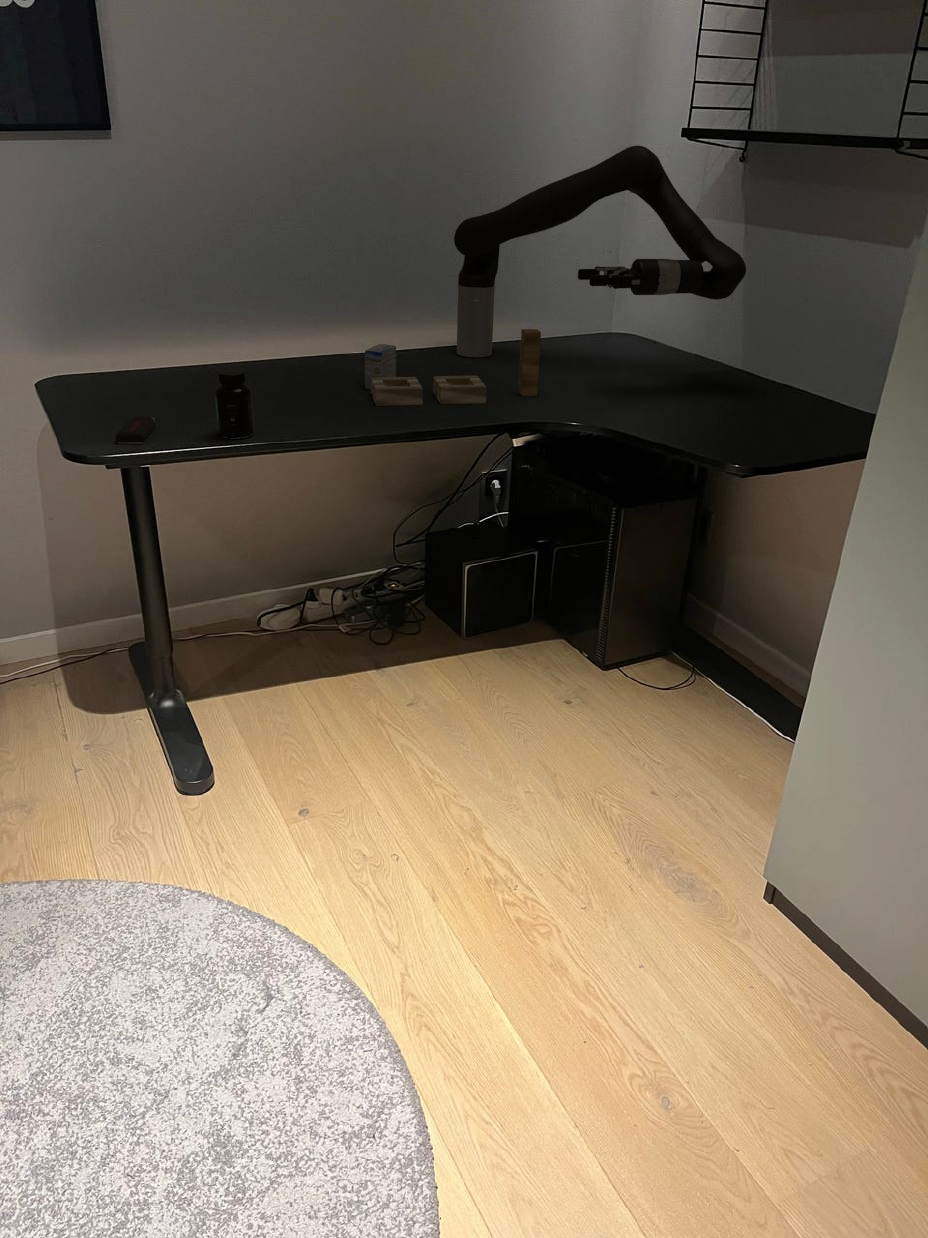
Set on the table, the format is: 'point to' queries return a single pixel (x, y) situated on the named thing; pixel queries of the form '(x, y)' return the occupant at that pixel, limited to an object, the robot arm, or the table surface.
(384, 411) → the table surface
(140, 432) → the usb drive
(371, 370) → the medicine box
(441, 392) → the end cap
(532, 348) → the tall brown wooden block
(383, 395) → the end cap
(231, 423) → the supplement bottle
